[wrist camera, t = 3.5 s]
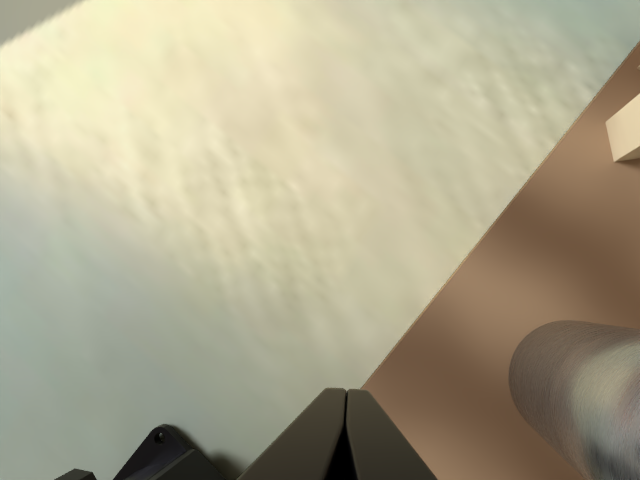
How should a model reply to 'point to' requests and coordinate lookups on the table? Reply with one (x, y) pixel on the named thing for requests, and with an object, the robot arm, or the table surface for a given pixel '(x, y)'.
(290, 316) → the table surface
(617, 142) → the v block
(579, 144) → the board
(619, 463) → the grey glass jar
